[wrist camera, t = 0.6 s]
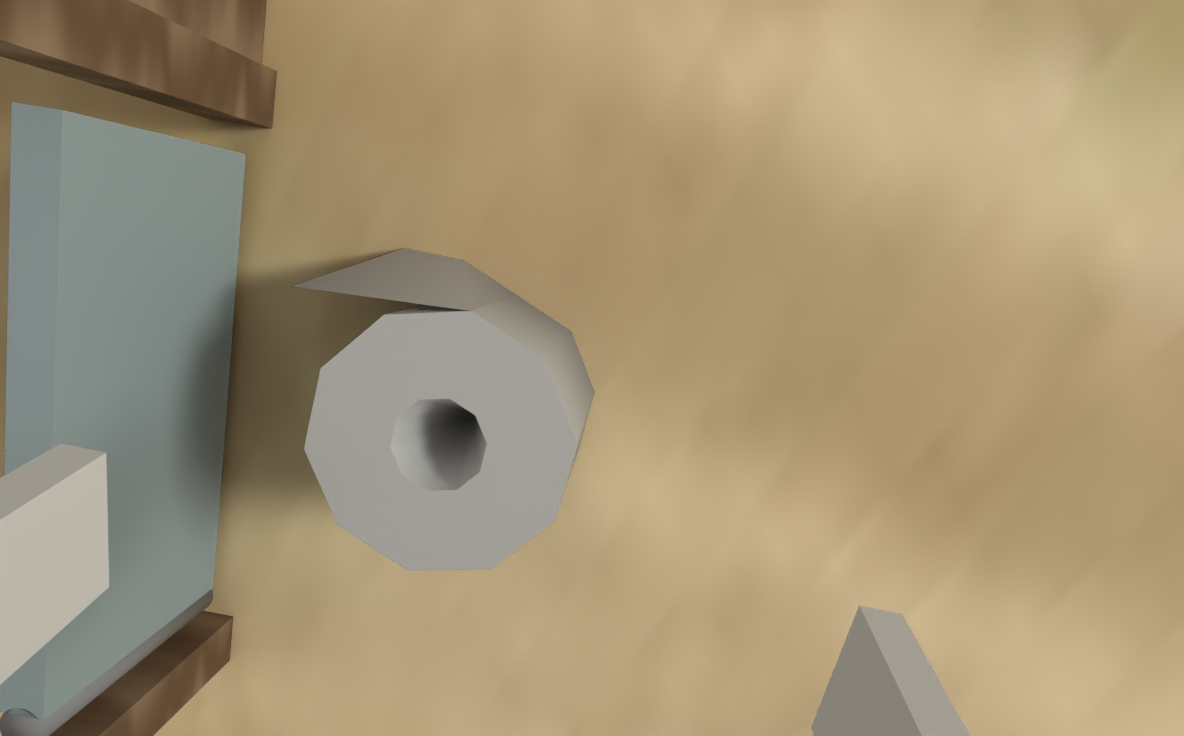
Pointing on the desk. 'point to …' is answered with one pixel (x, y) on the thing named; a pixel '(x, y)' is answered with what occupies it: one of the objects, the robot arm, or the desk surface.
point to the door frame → (195, 85)
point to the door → (121, 374)
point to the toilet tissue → (446, 415)
